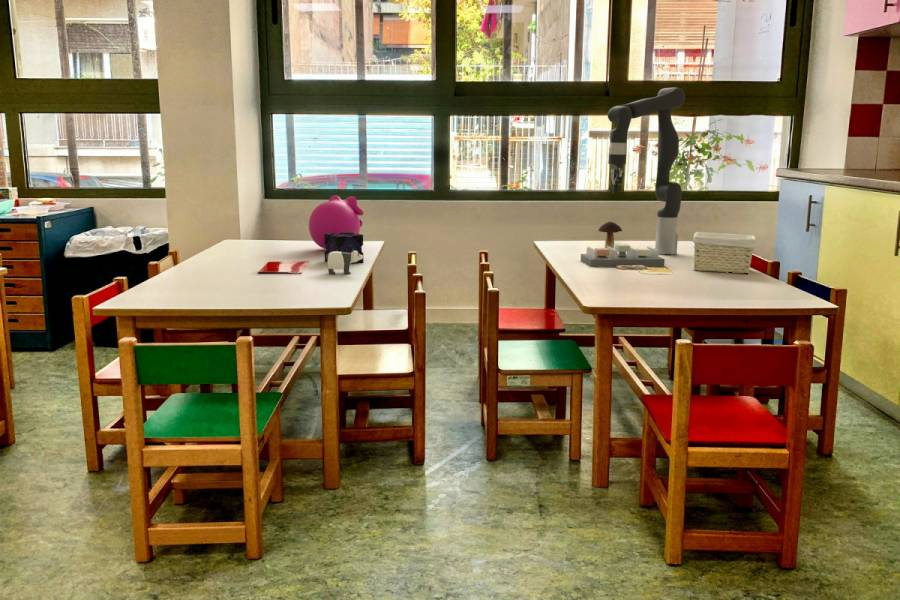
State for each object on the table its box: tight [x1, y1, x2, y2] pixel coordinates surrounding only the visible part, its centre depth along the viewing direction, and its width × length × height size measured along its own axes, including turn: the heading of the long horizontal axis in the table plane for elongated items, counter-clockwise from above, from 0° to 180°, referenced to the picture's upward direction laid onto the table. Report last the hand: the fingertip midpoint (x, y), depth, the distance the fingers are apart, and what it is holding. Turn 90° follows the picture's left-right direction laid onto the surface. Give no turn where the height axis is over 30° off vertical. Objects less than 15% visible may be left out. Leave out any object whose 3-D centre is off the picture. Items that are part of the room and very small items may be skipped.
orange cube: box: [594, 247, 609, 257], centre depth 333 cm, size 5×5×5 cm
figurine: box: [308, 194, 364, 250], centre depth 360 cm, size 23×24×25 cm
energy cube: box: [324, 232, 364, 264], centre depth 328 cm, size 12×12×12 cm
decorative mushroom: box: [597, 221, 623, 249], centre depth 360 cm, size 11×11×15 cm
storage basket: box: [692, 231, 757, 274], centre depth 319 cm, size 24×16×15 cm
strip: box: [615, 265, 648, 270], centre depth 322 cm, size 12×4×1 cm, turn 96°
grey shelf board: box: [580, 246, 666, 268], centre depth 334 cm, size 32×16×6 cm, turn 96°
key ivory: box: [634, 247, 650, 257], centre depth 334 cm, size 5×5×5 cm
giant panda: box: [326, 250, 364, 276], centre depth 301 cm, size 15×6×10 cm, turn 101°
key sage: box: [614, 243, 631, 256], centre depth 333 cm, size 5×5×5 cm
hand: (615, 193), depth 342 cm, fingers closed
